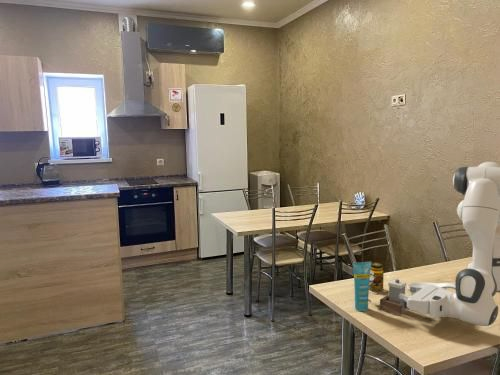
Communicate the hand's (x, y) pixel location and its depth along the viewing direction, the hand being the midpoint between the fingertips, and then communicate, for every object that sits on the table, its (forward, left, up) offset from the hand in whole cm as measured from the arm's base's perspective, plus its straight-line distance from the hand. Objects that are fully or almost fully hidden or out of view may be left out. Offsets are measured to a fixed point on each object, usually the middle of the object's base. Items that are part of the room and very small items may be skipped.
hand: (405, 291), depth 145 cm
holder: (0, -3, -8) cm, 9 cm away
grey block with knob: (0, -3, -8) cm, 9 cm away
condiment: (-13, -19, -8) cm, 25 cm away
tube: (+9, -13, -8) cm, 18 cm away
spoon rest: (-22, +4, -9) cm, 24 cm away
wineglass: (+1, -16, -8) cm, 18 cm away
